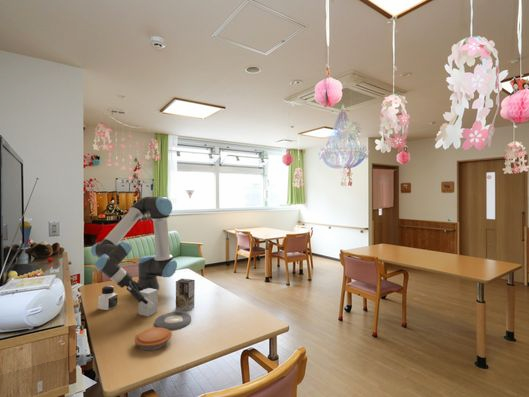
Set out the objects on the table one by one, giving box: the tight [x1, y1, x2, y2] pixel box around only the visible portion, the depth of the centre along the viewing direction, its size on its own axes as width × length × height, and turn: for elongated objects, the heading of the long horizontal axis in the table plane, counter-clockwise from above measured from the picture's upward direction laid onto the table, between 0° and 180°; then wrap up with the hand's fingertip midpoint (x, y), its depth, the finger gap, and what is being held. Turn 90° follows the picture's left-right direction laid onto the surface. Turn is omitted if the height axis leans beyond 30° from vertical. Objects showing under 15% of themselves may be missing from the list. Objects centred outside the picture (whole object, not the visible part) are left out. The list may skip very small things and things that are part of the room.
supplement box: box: [138, 288, 159, 317], centre depth 159 cm, size 7×7×13 cm
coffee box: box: [175, 278, 196, 311], centre depth 167 cm, size 9×6×16 cm
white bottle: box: [97, 285, 118, 311], centre depth 165 cm, size 7×7×12 cm
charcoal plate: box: [154, 311, 192, 331], centre depth 149 cm, size 18×18×1 cm
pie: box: [134, 327, 173, 352], centre depth 127 cm, size 16×16×5 cm
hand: (151, 302), depth 159 cm, fingers open, 13 cm apart
